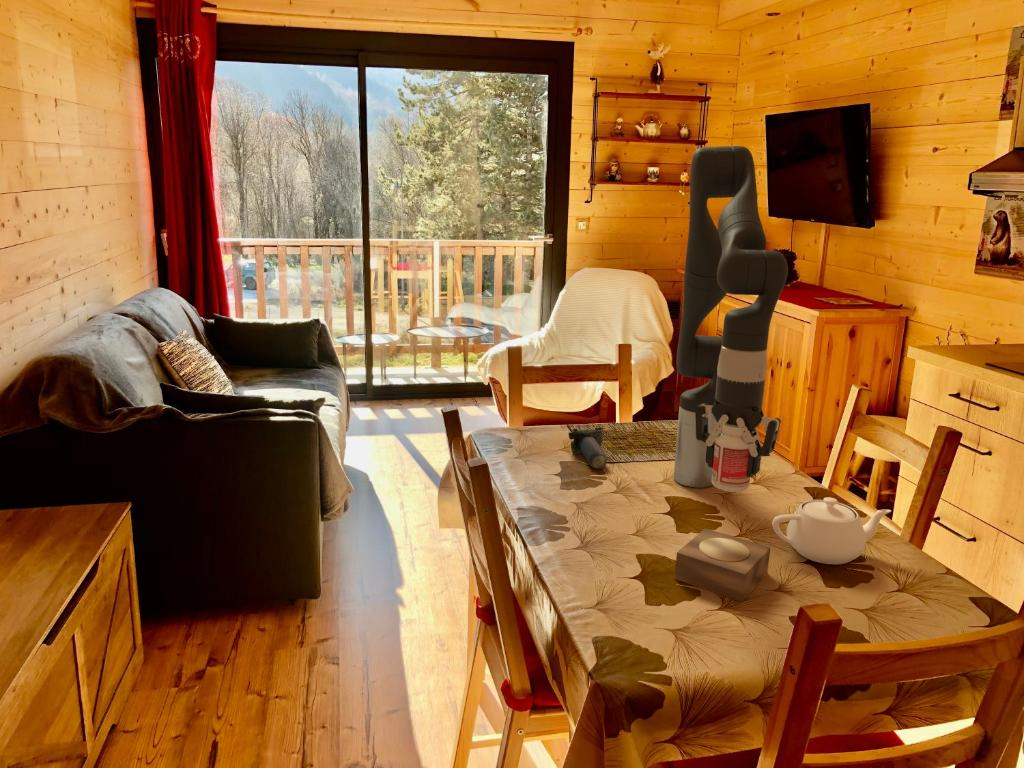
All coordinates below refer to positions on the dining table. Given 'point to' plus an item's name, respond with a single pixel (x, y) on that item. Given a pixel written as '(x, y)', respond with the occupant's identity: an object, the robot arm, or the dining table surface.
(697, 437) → the robot arm
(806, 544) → the teapot
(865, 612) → the dining table surface
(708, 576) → the pedestal
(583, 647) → the dining table surface
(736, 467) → the pill bottle
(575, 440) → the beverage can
